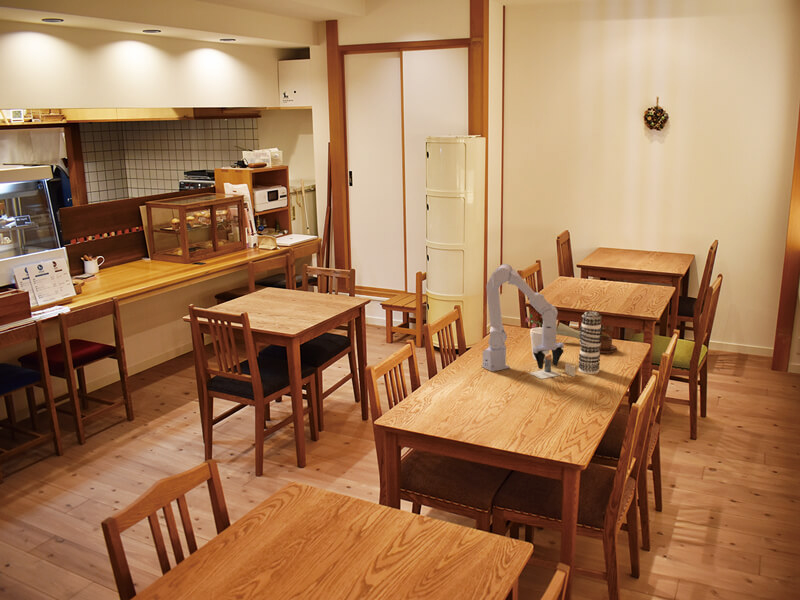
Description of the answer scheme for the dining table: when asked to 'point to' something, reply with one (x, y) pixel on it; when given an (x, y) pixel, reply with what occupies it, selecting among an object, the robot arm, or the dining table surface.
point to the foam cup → (537, 340)
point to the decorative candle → (590, 342)
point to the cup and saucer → (606, 345)
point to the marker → (548, 363)
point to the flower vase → (559, 329)
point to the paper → (544, 374)
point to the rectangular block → (570, 369)
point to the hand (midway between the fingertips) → (547, 366)
